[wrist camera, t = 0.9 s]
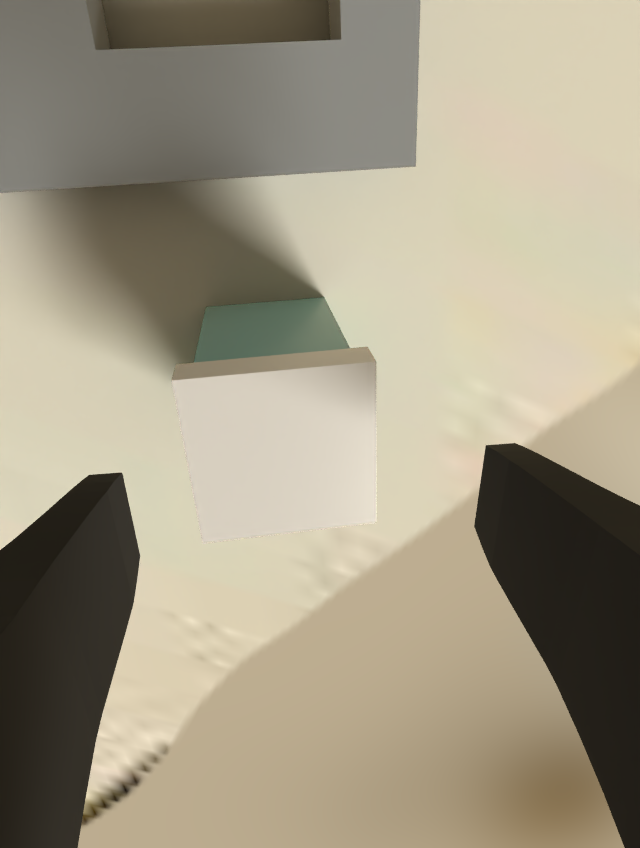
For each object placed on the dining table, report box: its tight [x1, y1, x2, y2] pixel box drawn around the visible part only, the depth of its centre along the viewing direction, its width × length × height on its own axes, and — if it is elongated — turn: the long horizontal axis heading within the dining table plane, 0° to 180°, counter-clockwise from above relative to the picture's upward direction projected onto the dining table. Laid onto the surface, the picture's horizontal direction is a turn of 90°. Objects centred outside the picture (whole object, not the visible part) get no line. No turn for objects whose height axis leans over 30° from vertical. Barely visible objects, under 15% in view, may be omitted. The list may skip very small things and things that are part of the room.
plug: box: [171, 297, 377, 544], centre depth 17 cm, size 5×5×7 cm
